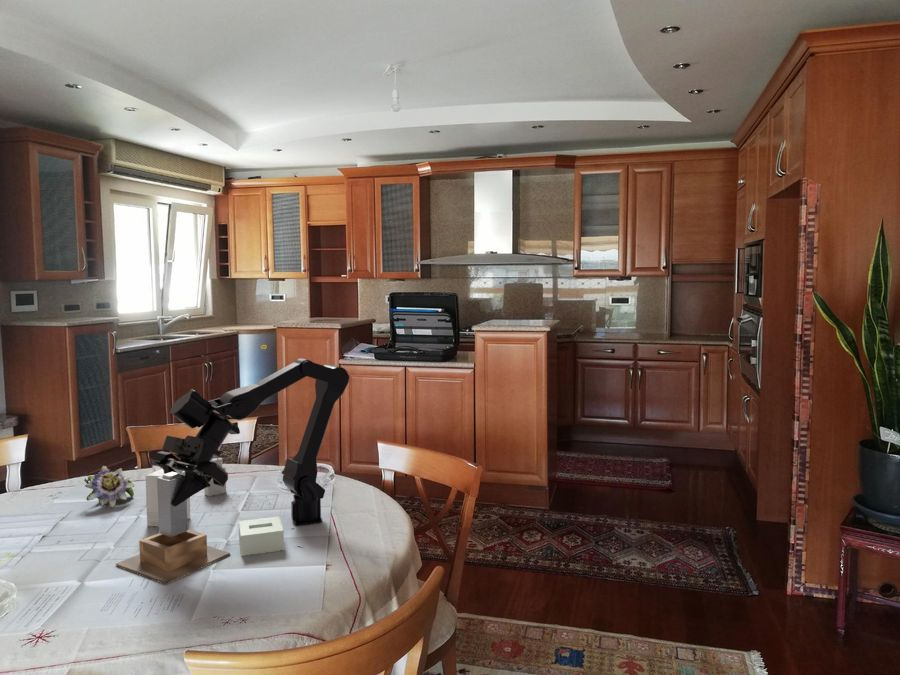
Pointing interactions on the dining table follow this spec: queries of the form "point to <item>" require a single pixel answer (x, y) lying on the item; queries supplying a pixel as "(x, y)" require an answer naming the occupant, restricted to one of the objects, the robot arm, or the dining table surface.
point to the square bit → (169, 515)
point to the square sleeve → (172, 556)
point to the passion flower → (109, 486)
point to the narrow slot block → (261, 536)
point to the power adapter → (213, 488)
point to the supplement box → (156, 498)
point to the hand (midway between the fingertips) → (166, 503)
